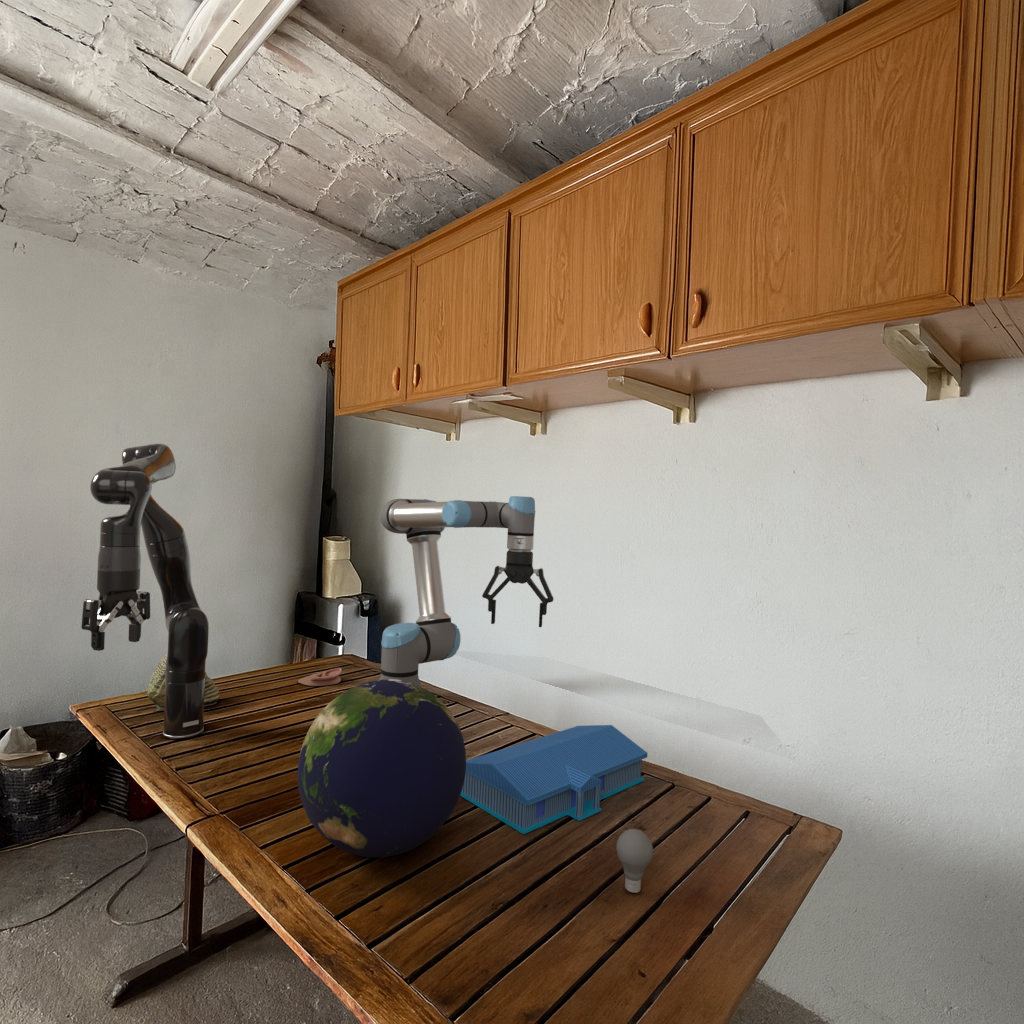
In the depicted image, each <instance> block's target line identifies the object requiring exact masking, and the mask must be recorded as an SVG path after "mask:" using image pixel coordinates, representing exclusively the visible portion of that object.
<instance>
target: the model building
mask: <svg viewBox="0 0 1024 1024" xmlns="http://www.w3.org/2000/svg"><path fill="white" fill-rule="evenodd" d="M648 755H649V754H648V751H646V750H644V749H643V748H642V747H640V746H639V744H637V743H635V742H634V741H633V740H632V739H630V738H629V736H626V734H624V733H623V732H621V731H620V730H619V729H618V728H616V727H615V726H614V725H612V724H596V725H595V724H592V725H576V726H574V727H569V728H566V729H564V730H560V731H556V732H553V733H550V734H548V735H544V736H541V737H537V738H534V739H530V740H528V741H524V742H521V743H518V744H514V745H511V746H509V747H505V748H502V749H499V750H496V751H492V752H489V753H485V754H482V755H479V756H476V757H473V758H470V759H466V773H465V779H464V784H463V788H462V791H461V794H460V797H462V798H463V799H465V800H466V801H468V802H470V803H471V804H472V805H475V806H476V807H478V808H479V809H481V810H483V811H485V812H486V813H487V814H490V815H491V816H493V817H494V818H495V819H498V820H499V821H501V822H502V823H503V824H506V825H508V826H509V827H511V828H512V829H514V830H515V831H517V832H519V834H522V835H526V834H528V833H530V832H533V831H535V830H537V829H540V828H542V827H544V826H546V825H548V824H550V823H552V822H556V821H557V820H559V819H562V818H563V817H566V816H569V817H571V818H573V819H574V820H576V821H578V822H581V821H583V820H585V819H587V818H589V817H592V816H594V815H596V814H598V813H600V812H602V808H601V801H602V800H604V799H606V798H609V797H611V796H613V795H616V794H617V793H620V792H622V791H624V790H627V789H629V788H631V787H634V786H636V785H639V784H641V783H642V782H645V781H646V780H645V778H644V777H642V763H643V762H642V761H643V760H645V759H647V758H648Z"/></svg>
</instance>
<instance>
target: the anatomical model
mask: <svg viewBox="0 0 1024 1024" xmlns="http://www.w3.org/2000/svg"><path fill="white" fill-rule="evenodd" d="M342 671H343V669H342V667H335V668H331V669H328V670H324V671H320V672H317V673H313V674H310V675H308V676H304V677H302V678H300V679H298V680H297V683H299V684H301V685H305V686H309V687H316V686H317V687H321V686H331V685H336V684H339V683H340V682H341V681H342V678H341V676H340V675H342Z"/></svg>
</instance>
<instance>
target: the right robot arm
mask: <svg viewBox="0 0 1024 1024" xmlns="http://www.w3.org/2000/svg"><path fill="white" fill-rule="evenodd" d="M379 512H380V513H379V520H380V522H381V525H382V526H383V528H384V529H386V530H387V531H389V532H390V533H394V534H397V535H398V534H401V535H405V536H406V542H408V543H409V544H410V545H411V549H412V557H413V566H414V567H413V569H414V576H415V586H416V595H417V602H418V612H419V616H418V618H417V619H416V621H415V623H414V622H405V623H404V622H400V623H394V624H392V625H389V626H387V627H386V628H385V629H384V630H383V632H382V635H381V642H380V643H381V655H380V656H381V658H380V675H379V679H378V680H387V679H396V680H402V681H406V682H410V683H413V684H416V685H418V686H420V687H422V684H421V681H420V678H419V664H420V665H421V664H425V663H432V662H437V661H444V660H447V659H451V658H453V657H455V655H456V654H457V653H458V651H459V649H460V645H461V640H462V638H461V632H460V629H459V628H458V625H457V624H455V623H454V622H452V617H451V616H450V615H449V614H448V613H447V612H446V606H445V605H446V603H445V598H444V586H443V579H442V571H441V563H440V554H439V545H438V541H439V540H440V539H441V538H442V533H443V531H445V529H446V528H454V529H458V528H460V529H461V528H497V529H507V538H506V539H507V540H506V549H507V551H506V556H505V557H506V558H505V560H506V562H505V567H503V566H500V565H496V566H495V567H494V572H493V575H492V576H491V579H490V580H489V582H488V584H487V585H486V588H485V590H484V591H483V593H482V594H481V595H482V596H481V597H482V598H483V599H487V601H488V602H487V604H488V605H487V611H488V613H489V612H490V613H491V615H490V616H491V619H490V624H491V625H495V623H496V612H497V611H496V607H497V599H494V598H495V597H496V596H498V594H499V593H500V592H501V591H502V590H503V589H504V588H505V587H506V586H507V585H508V583H509V582H510V583H512V584H521V585H522V584H526V583H527V585H528V586H529V587H530V588H531V589H532V591H533V592H534V594H535V595H536V596H537V598H538V599H539V601H541V602H539V613H538V614H539V615H538V628H542V627H543V616H546V615H547V613H548V604H549V603H553V602H554V597H553V594H552V591H551V589H550V587H549V584H548V582H547V580H546V578H545V576H544V568H542V567H540V568H536V569H535V568H534V567H533V565H534V564H533V562H534V553H533V550H534V542H535V536H534V535H535V519H536V499H535V498H534V497H532V496H522V495H521V496H520V495H519V496H518V495H510V497H509V498H508V502H503V501H491V500H489V501H480V500H479V501H478V500H476V501H475V500H473V501H472V500H463V499H462V500H461V499H454V500H448V501H437V500H433V499H426V498H423V499H417V498H393V499H390V500H389V501H386V502H385V503H384V505H383V506H382V507H381V508H380V511H379ZM503 572H504V574H505V576H506V578H505V579H504V580H503V581H502V582H501V584H500V585H498V587H496V589H494V590H493V592H492V593H491V594H490V592H491V590H492V588H493V586H494V585H495V583H496V581H497V579H498V577H499V575H501V574H503ZM534 574H535V575H536V577H537V578H539V581H540V583H541V586H542V588H543V590H544V593H545V595H546V596H545V595H544V594H543V592H542V591H541V589H540V588H539V587H538V585H536V583H535V581H534V580H533V579H532V578H531V577H532V576H533V575H534Z"/></svg>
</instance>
